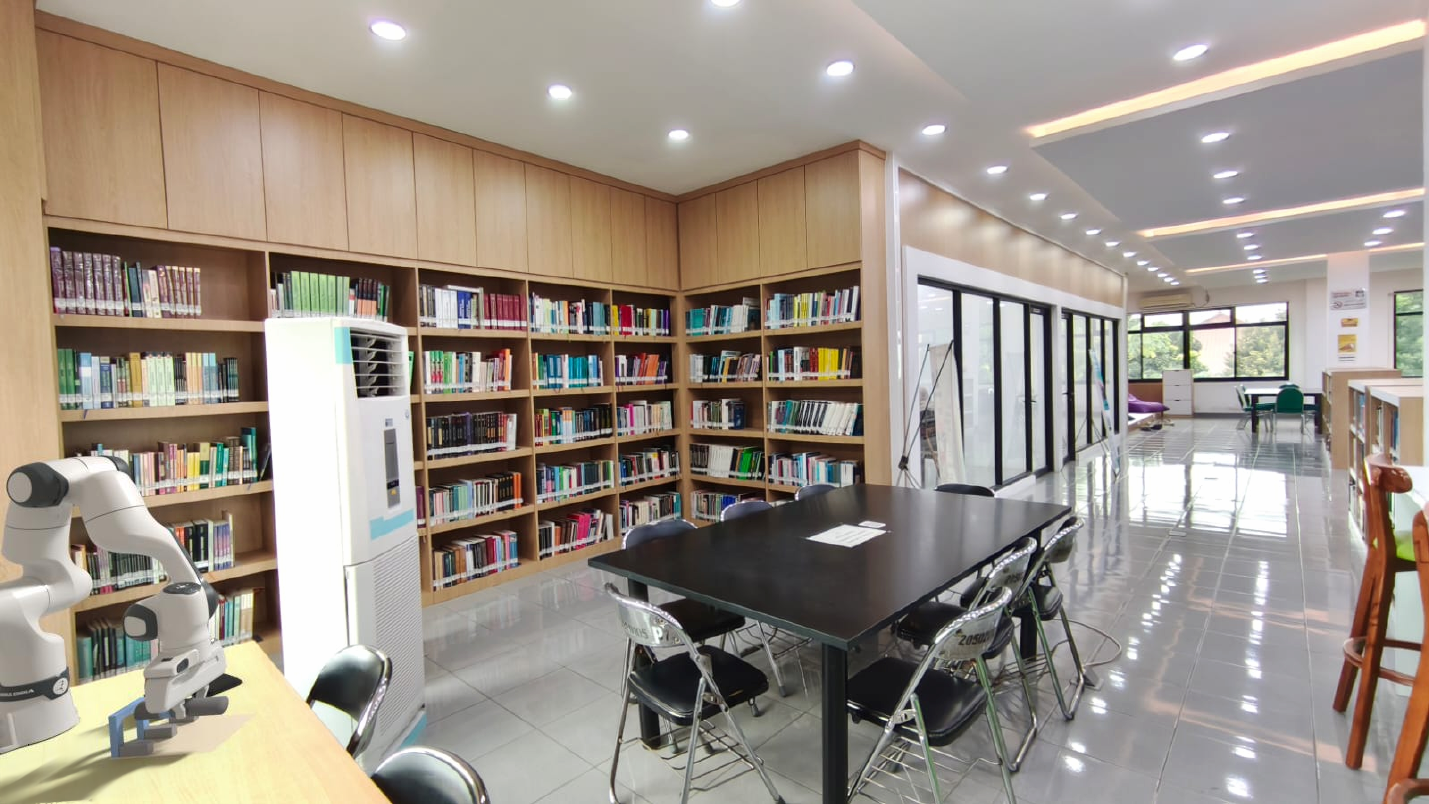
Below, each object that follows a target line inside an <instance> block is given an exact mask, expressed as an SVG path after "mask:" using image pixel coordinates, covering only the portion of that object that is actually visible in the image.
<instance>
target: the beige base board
mask: <svg viewBox="0 0 1429 804" xmlns="http://www.w3.org/2000/svg"><path fill="white" fill-rule="evenodd" d="M258 715H259V712H258V713H257V712H255V713H245V714H244V713H243V714H229V715H211V716H196V717H185V718H183V719H176V718H170V719H164V721H163V722H161V723H160V724H156V725H155V724H154V725H149V727H148V728H146V729H145V740H137V739H136V740H135V741H131V742H129V741H128V742H124V744H122V745H121V746H119V753H120V757H119V758H111V757H110V758H109V759H108V760H119V759H121V760H122V759H135V758H137V759H138V758H150V757H163V756H164V757H165V756H177V755H178V756H179V755H190V754H191V755H194V754H207V753H213V752H214V751H215V750H217V748H219V747H220V746H221V745H222V744H224V743H225V742H226V741H227V740H228V739H230V738H231V737H232V736H233V735H234V734H236V733H237V732H238V731H240V730H241V729H242V728H243V727H244V726H246V724H247V723H249V722H250V721H251V720H252V719H254V718H255V717H256V716H258Z"/></svg>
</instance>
